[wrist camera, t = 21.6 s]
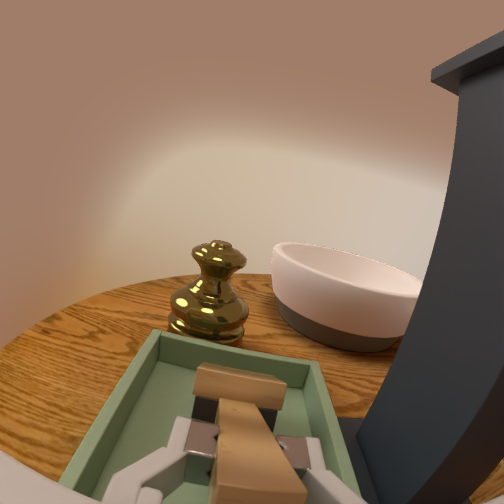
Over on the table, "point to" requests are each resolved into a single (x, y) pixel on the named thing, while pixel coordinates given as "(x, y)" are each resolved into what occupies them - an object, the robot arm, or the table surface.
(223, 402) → the brush
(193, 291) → the brass bell weight
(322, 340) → the bowl
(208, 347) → the tray
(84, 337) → the table surface
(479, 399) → the stand
